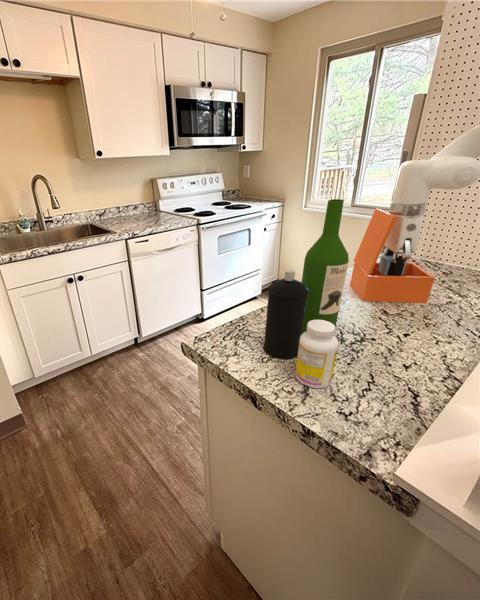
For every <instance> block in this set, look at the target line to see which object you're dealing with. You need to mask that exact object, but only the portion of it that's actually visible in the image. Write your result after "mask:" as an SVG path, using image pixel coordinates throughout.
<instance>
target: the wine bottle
mask: <svg viewBox="0 0 480 600" xmlns="http://www.w3.org/2000/svg"><path fill="white" fill-rule="evenodd" d="M344 203H345V200H344V199H341V198H339V199H338V198H333V199H328V200H327V205H326V211H325V217H324V223H323V228H322V233H321V235H320V237H319V238H318V239H317V240H316V241H315V242H314V243H313V245H312V246H311V247H310V248H309V249H308V250H307V251H306V254H305V257H304V259H303V260H304V261H303V268H302V274H301V275H302V276H301V282H302V283H303V284H304V285H305V286H306V287H307V288H308V289H309V293H308V295H307V300H306V307H305V313H304V320H303V327H302V334H303V333H304V332H306V331H307V324H308V322H309V321H311V320H325V321H328V322H330V323H332V324H334V326H335V328H337V327H336V326H337V321H338V317H339V312H340V307H341V302H342V297H343V291H344V286H345V282H346V277H347V273H348V267H349V261H350V258H349V253H348V251H347V249H346V247H345V245H344V243H343V241H342V240H341V238H340V234H339V233H340V227H341V220H342V214H343V209H344ZM302 334H301V335H302Z"/></svg>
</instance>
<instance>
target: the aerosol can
mask: <svg viewBox="0 0 480 600" xmlns="http://www.w3.org/2000/svg"><path fill="white" fill-rule="evenodd" d="M295 275H296V271H295V270H294V269H285V270H284V278H280V279H277V280H275V281H274V282H272V283H270V284H269V285H268V286H267V291H268V296H267V307H266V308H267V309H266V320H265V332H264V343H263V344H262V349H263V351H264V352H265V353H266V354H267V355H269V356H270V357H273V358H276V359H280V360H291V359H295V358H297V356H298V349H299V341H300V337H301V334H302V327H303V320H304V313H305V307H306V300H307V295H308V293H309V289H308V288H307V287H306V286H305V285H304V284H303V283H302V281H299V280H297V279H295V278H296V277H295Z"/></svg>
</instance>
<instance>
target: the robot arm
mask: <svg viewBox="0 0 480 600" xmlns="http://www.w3.org/2000/svg"><path fill="white" fill-rule="evenodd" d="M479 157H480V124H478V125H476V126H474V127H473V128H471V129H470V130H468V131H466V132H465V133H463V134H462V135H460V136H459V137H457V138H456V139H454V140H453V141H452V142H450V143H449V144H447V145H446V146H445V147H444V148H443V149H442V150H440V151H438V152H437V153H436V154H435V155H434V156H432V158H430V159H427V158H426V159H412V160H407V161H404V162H403V163H402V164H401V165H400V167H399V170H398V173H397V178H396V181H395V182H396V183H395V186H394V189H393V190H394V191H393V194H392V198H391V202H390V207H389V212H388V213H389V214H391V215H393V216H395V217H397V218H396V220H395V223H394V225H393V227H392V229H391V231H390V233H389V236H388V238H387V240H386V242H385V244H384V247H383V249H384V251H383V254H382V256H393V262H391V263H390V267H389V271H388V275H389V276H401V275H402V271H403V268H404V264H405V263H406V261H407V260H408V259H410V258H411V257H412V254H415V253H416V252H417V249H418V245H419V242H420V238H421V234H422V233H421V232H422V227H423V217H424V216H425V213H426V209H427V206H428V203H429V199H430V195H431V191H432V189H435V190H436V189H437V190H452V191H453V190H461V189H465V188H467V187H470V186H472V185H473V184H475V183H476V182H477V181H478V180H479V179H480V161H479V160H478V159H477V158H479ZM397 256H399V257H398V258H397Z"/></svg>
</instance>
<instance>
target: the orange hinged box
mask: <svg viewBox="0 0 480 600" xmlns="http://www.w3.org/2000/svg"><path fill="white" fill-rule="evenodd" d="M379 264H380V261H377V262H376V264H375V266H374V268H373V270H372V272H371V275H367V274H366V273H365V272H364V271H363V270H362V269H361V268H360V267H359V266H358V265H357V264H356V263H355V262H354V263H353V268H352V272H351V277H350V283H349V286H351V288H352V289H353V291H354V292H355V293H356V294H357V296H358V297H359V298H360V300H361V301H362V302H375V303H376V302H380V303H412V304H427V303H428V300H429V297H430V293H431V291H432V288H433V286H434V282H435V279H436V277H435V276H434V275H432V274H431V273H429V272H428V271H426V270H425V269H423V268H422V267H421V266H419V265H418V264H416V263H415V262H413V261H411V262H409V261H407V262H406V265H405V269H404V272H403V276H387V275H383V274H382V273H381V272H380V271H379V270H378V268H379Z"/></svg>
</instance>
